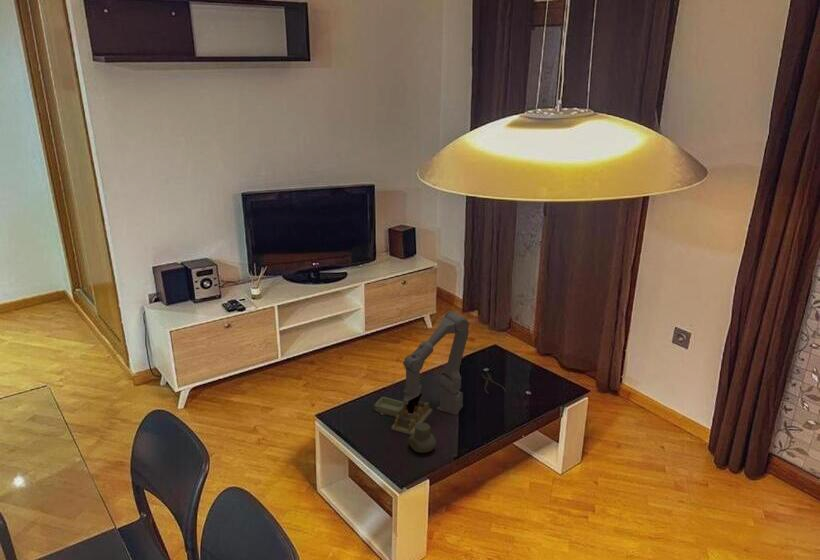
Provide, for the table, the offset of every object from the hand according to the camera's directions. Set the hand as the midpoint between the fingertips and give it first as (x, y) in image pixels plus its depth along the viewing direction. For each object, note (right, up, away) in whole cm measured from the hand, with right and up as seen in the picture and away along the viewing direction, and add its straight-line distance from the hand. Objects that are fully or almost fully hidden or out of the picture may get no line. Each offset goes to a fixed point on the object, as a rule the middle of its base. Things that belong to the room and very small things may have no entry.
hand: (412, 411), depth 261 cm
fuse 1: (-3, -4, -5) cm, 7 cm away
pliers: (+36, +6, +31) cm, 48 cm away
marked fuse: (0, 0, 0) cm, 0 cm away
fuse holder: (0, -4, +2) cm, 4 cm away
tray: (-10, -1, +9) cm, 13 cm away
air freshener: (+4, -11, -17) cm, 21 cm away
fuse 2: (+3, 0, +7) cm, 7 cm away
